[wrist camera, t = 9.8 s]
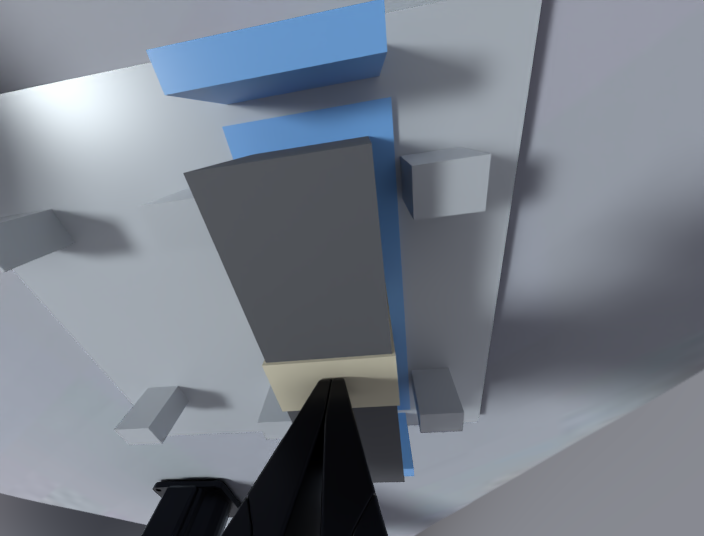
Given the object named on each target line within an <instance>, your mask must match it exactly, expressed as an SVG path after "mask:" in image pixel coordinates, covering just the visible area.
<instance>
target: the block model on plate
mask: <svg viewBox="0 0 704 536" xmlns="http://www.w3.org/2000/svg"><path fill="white" fill-rule="evenodd" d="M541 4H542V0H445V1H440V2H435V3H430V4H426V5H421V6H416V7H411V8H407V9H402V10H397V11H392V12H388V13H385V6H384V0H375V1H370V2H365V3H361V4H356V5H352V6H347V7H342V8H338V9H333V10H328V11H324V12H319V13H315V14H310V15H305V16H301V17H296V18H292V19H287V20H282V21H278V22H273V23H268V24H264V25H259V26H255V27H250V28H245V29H241V30H236V31H231V32H227V33H222V34H218V35H213V36H208V37H204V38H199V39H195V40H190V41H185V42H181V43H176V44H171V45H167V46H162V47H158V48H153V49H148V50H146V51H147V54H148V56H149V59H150V61H151V62H150V63H146V64H141V65H136V66H131V67H127V68H122V69H117V70H112V71H108V72H103V73H98V74H93V75H89V76H84V77H79V78H74V79H70V80H65V81H60V82H55V83H51V84H46V85H41V86H36V87H32V88H27V89H22V90H17V91H13V92H8V93H3V94H0V272H6V271H8V270H12V271H13V272H14V273H15V274H16V275H17V276H18V277H19V278H20V280H21V281H22V282H23V283H24V284H25V285H26V286H27V287H28V288H29V290H30V291H31V292H32V293H33V294H34V295H35V296H36V297H37V299H38V300H39V301H40V302H41V303H42V304H43V305H44V306H45V307H46V309H47V310H48V311H49V312H50V313H51V314H52V315H53V316H54V318H55V319H56V320H57V321H58V322H59V323H60V324H61V325H62V326H63V328H64V329H65V330H66V331H67V332H68V333H69V334H70V335H71V337H72V338H73V339H74V340H75V341H76V342H77V343H78V344H79V345H80V347H81V348H82V349H83V350H84V351H85V352H86V353H87V354H88V356H89V357H90V358H91V359H92V360H93V361H94V362H95V363H96V364H97V366H98V367H99V368H100V369H101V370H102V371H103V372H104V373H105V375H106V376H107V377H108V378H109V379H110V380H111V381H112V382H113V383H114V385H115V386H116V387H117V388H118V389H119V390H120V391H121V392H122V394H123V395H124V396H125V397H126V398H127V399H128V400H129V401H130V402H131V404H132V405H133V407H132V408H131V410H130V411H129V412H128V413H127V414H126V416H125V417H124V418H123V419H122V421H121V422H120V423H119V424H118V425H117V427H116V428H115V429H114V430H115V431H116V432H117V433H118V434H119V435H120V436H121V437H122V438H123V439H124V440H125V441H126V442H127V443H128V444H129V445H144V444H162V443H163V442H164V440H165V439H166V437H167V436H185V435H207V434H230V433H252V432H262V433H263V434H264V436H265V438H266V439H283V437H284V435H285V434H286V432H287V431H288V429H289V427H290V426H291V424H292V421H291V419H290V417H289V415H288V412H287V411H284V412H283V411H282V409H281V407H280V405H279V403H278V400H277V398H276V396H275V394H274V391H273V389H272V387H271V385H270V383H269V380H268V378H267V376H266V374H265V372H264V369H263V367H262V364H263V362H264V357H263V355H262V353H261V350H260V348H259V346H258V344H257V341H256V339H255V337H254V334H253V332H252V330H251V328H250V325H249V323H248V321H247V318H246V316H245V314H244V311H243V309H242V307H241V305H240V302H239V300H238V298H237V295H236V293H235V291H234V289H233V286H232V284H231V282H230V279H229V277H228V275H227V273H226V270H225V268H224V266H223V263H222V261H221V259H220V257H219V254H218V252H217V250H216V247H215V245H214V243H213V240H212V238H211V236H210V234H209V231H208V229H207V227H206V224H205V222H204V220H203V218H202V215H201V213H200V211H199V208H198V206H197V204H196V202H195V199H194V197H193V195H192V192H191V190H190V188H189V185H188V183H187V181H186V179H185V176H184V174H183V173H185V172H189V171H193V170H196V169H200V168H204V167H208V166H211V165H215V164H219V163H223V162H226V161H230V160H234V159H238V158H241V157H245V156H249V155H253V154H259V153H265V152H271V151H277V150H284V149H290V148H296V147H302V146H308V145H315V144H321V143H327V142H333V141H340V140H346V139H352V138H358V137H365V136H368V137H369V139H370V141H371V143H372V152H373V162H374V173H375V183H376V193H377V203H378V214H379V224H380V234H381V244H382V255H383V265H384V275H385V283H386V290H387V297H388V304H389V311H390V318H391V326H392V333H393V340H394V347H395V354H396V364H397V375H398V386H399V398H400V405H399V406H397V409H398V419H399V429H400V440H401V450H402V460H403V470H404V476H414V468H413V461H412V454H411V447H410V441H409V434H408V427H407V425H419V427H420V432H421V433H430V432H454V431H462V430H463V423H473V422H478V421H479V414H480V408H481V401H482V394H483V388H484V381H485V374H486V368H487V361H488V355H489V348H490V341H491V335H492V328H493V322H494V315H495V308H496V302H497V295H498V289H499V282H500V275H501V269H502V262H503V256H504V249H505V242H506V236H507V229H508V222H509V216H510V209H511V203H512V196H513V189H514V183H515V176H516V170H517V163H518V156H519V150H520V143H521V137H522V130H523V123H524V117H525V110H526V103H527V97H528V90H529V84H530V77H531V70H532V64H533V57H534V51H535V44H536V37H537V31H538V24H539V18H540V11H541Z"/></svg>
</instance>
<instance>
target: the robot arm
mask: <svg viewBox="0 0 704 536" xmlns="http://www.w3.org/2000/svg"><path fill="white" fill-rule="evenodd" d="M153 490H154V491H155V492H156V493H157V494H158V495H159V496H160V497H161V500H160V502H159V504H158V506H157V507H156V509H155V511H154V513H153V515H152V517H151V519H150V520H149V522H148V524H147V526H146V528H145V530H144V532H143V533H142V535H141V536H388V534H387V530H386V527H385V524H384V520H383V517H382V514H381V510H380V507H379V503H378V499H377V496H376V493H375V489H374V485H373V482H372V478H371V474H370V471H369V467H368V463H367V460H366V456H365V452H364V449H363V445H362V441H361V438H360V434H359V430H358V427H357V423H356V419H355V416H354V412H353V408H352V405H351V401H350V398H349V394H348V390H347V387H346V383H345V380H344V378H335V379H332V380H331V379H321V380H319V381H318V383H317V384H316V386H315V387H314V389H313V391H312V392H311V394H310V395H309V397H308V399H307V400H306V402H305V403H304V405H303V407H302V408H301V410H300V411H299V413H298V415H297V416H296V418H295V419H294V421H293V423H292V424H291V426H290V427H289V429H288V431H287V432H286V434H285V435H284V437H283V439H282V440H281V442H280V443H279V445H278V447H277V448H276V450H275V451H274V453H273V455H272V456H271V458H270V459H269V461H268V463H267V464H266V466H265V467H264V469H263V471H262V472H261V474H260V475H259V477H258V479H257V480H256V482H255V483H254V485H253V487H252V488H251V490H250V491H249V493H248V497H246V498H245V499H244V501H243V502H242V504H240V503H239V501H238V500H237V499H236V498H235V497H234V495H233V494H232V493H231V492H230V490H229V489H228V488H227V487H226V485H225V484H224V483H223V482H221V481H184V482H157V483H156V484H155V486H154V487H153ZM228 517H233V518H232V520H231V521H230V523H229V524H228V526H227V527H226V529H225V526H226V523H227V520H228ZM224 529H225V530H224Z"/></svg>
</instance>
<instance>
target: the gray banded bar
mask: <svg viewBox="0 0 704 536" xmlns="http://www.w3.org/2000/svg"><path fill="white" fill-rule="evenodd" d="M183 174H184V176H185V179H186V181H187V183H188V185H189V188H190V190H191V192H192V195H193V197H194V199H195V202H196V204H197V206H198V208H199V211H200V213H201V215H202V218H203V220H204V222H205V224H206V227H207V229H208V231H209V234H210V236H211V238H212V240H213V243H214V245H215V247H216V250H217V252H218V254H219V257H220V259H221V261H222V263H223V266H224V268H225V270H226V273H227V275H228V277H229V279H230V282H231V284H232V286H233V289H234V291H235V293H236V295H237V298H238V300H239V302H240V305H241V307H242V309H243V311H244V314H245V316H246V318H247V321H248V323H249V325H250V328H251V330H252V332H253V334H254V337H255V339H256V341H257V344H258V346H259V348H260V350H261V353H262V355H263V357H264V362H263V364H262V367H263V369H264V372H265V374H266V376H267V378H268V380H269V383H270V385H271V387H272V389H273V391H274V394H275V396H276V398H277V400H278V403H279V405H280V407H281V409H282V411H283V412H284V411H287V412H288V415H289V417H290V419H291V421H292V423H293V421H294V419H295V418H296V416H297V415H298V413H299V411H300V410H301V408H302V407H303V405H304V403H305V402H306V400H307V399H308V397H309V395H310V394H311V392H312V391H313V389H314V387H315V386H316V384H317V383H318V381H319V380H321V379H331V380H332V379H335V378H344V380H345V383H346V387H347V390H348V394H349V398H350V401H351V405H352V408H353V412H354V416H355V419H356V423H357V427H358V430H359V434H360V438H361V441H362V445H363V449H364V452H365V456H366V460H367V463H368V467H369V471H370V474H371V478H372V482H373V483H375V482H405V481H404V470H403V460H402V450H401V440H400V429H399V419H398V409H397V406H399V405H400V398H399V386H398V375H397V364H396V354H395V347H394V340H393V333H392V326H391V318H390V311H389V304H388V297H387V290H386V283H385V275H384V265H383V255H382V244H381V234H380V224H379V214H378V203H377V193H376V183H375V173H374V162H373V152H372V143H371V141H370V139H369V137H368V136H365V137H358V138H352V139H346V140H340V141H333V142H327V143H321V144H315V145H308V146H302V147H296V148H290V149H284V150H277V151H271V152H265V153H259V154H253V155H249V156H245V157H241V158H238V159H234V160H230V161H226V162H223V163H219V164H215V165H211V166H208V167H204V168H200V169H196V170H193V171H189V172H185V173H183Z"/></svg>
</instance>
